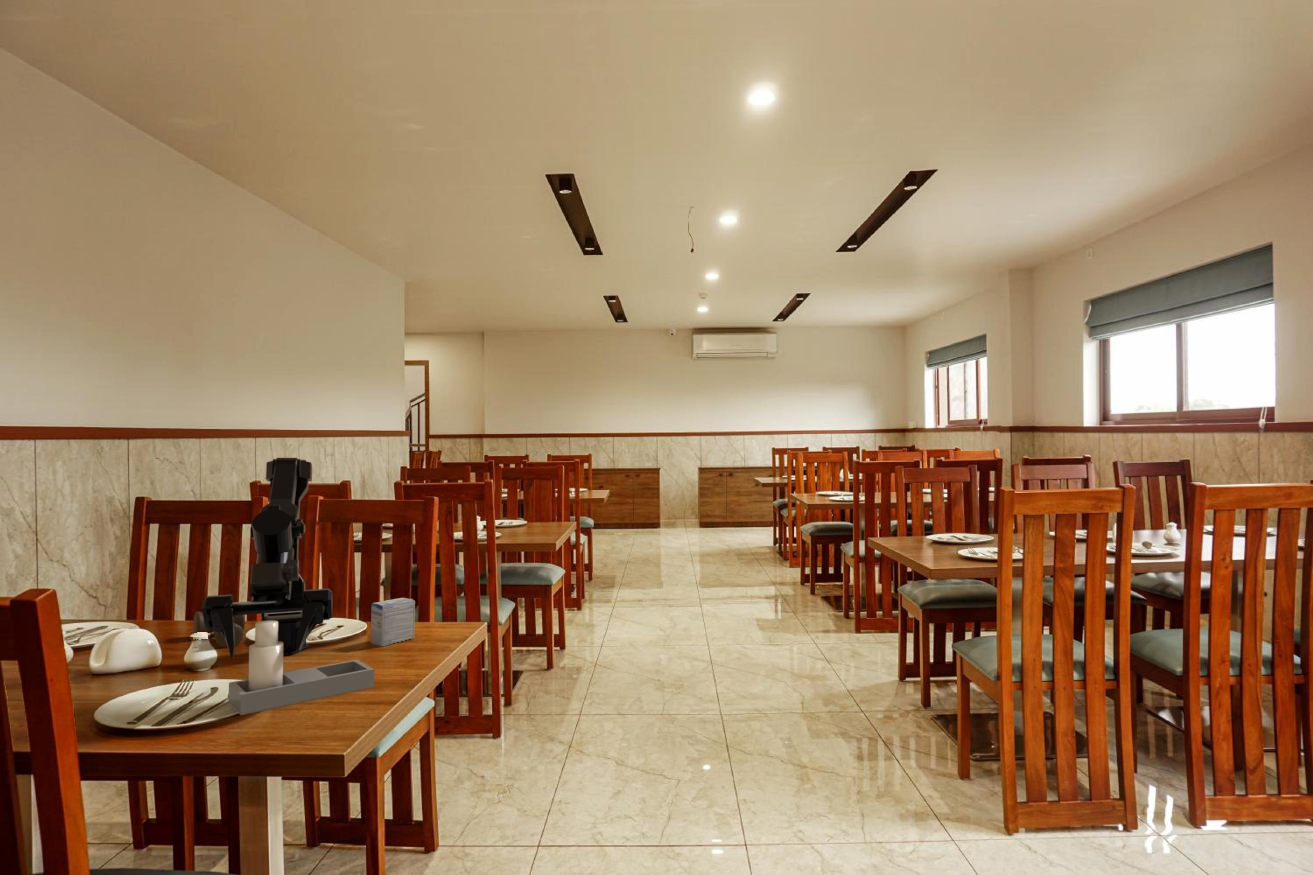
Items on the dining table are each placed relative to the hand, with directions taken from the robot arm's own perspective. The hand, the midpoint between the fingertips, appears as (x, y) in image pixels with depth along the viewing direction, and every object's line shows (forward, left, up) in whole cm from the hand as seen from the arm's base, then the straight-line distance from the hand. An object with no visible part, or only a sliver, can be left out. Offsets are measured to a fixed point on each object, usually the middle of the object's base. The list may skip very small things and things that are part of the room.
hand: (265, 653), depth 114 cm
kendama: (-38, +40, -9) cm, 56 cm away
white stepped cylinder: (-1, +1, -8) cm, 8 cm away
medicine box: (0, +42, -9) cm, 43 cm away
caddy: (+3, +5, -9) cm, 11 cm away
